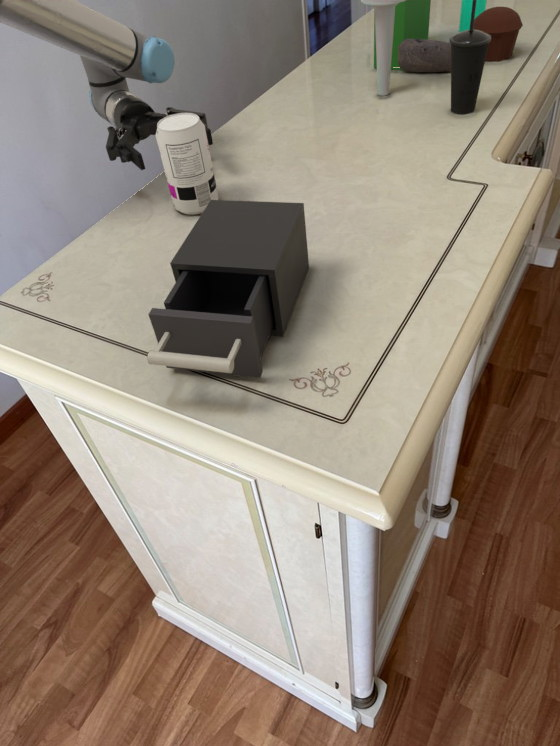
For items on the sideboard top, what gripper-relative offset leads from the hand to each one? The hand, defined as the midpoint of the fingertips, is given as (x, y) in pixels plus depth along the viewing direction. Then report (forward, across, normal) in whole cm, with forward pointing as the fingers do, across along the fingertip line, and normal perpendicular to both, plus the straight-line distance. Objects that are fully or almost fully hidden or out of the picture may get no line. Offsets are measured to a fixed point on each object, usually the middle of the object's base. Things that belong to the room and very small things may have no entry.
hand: (176, 149), depth 104 cm
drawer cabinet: (+35, +7, -8) cm, 37 cm away
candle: (-21, -93, -8) cm, 96 cm away
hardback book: (-25, -74, -8) cm, 78 cm away
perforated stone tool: (-12, -71, -8) cm, 73 cm away
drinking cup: (+10, -60, -8) cm, 62 cm away
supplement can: (+6, +1, -8) cm, 10 cm away
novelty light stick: (-9, -55, -8) cm, 56 cm away
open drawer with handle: (+44, +16, -7) cm, 47 cm away
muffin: (-8, -88, -8) cm, 89 cm away
